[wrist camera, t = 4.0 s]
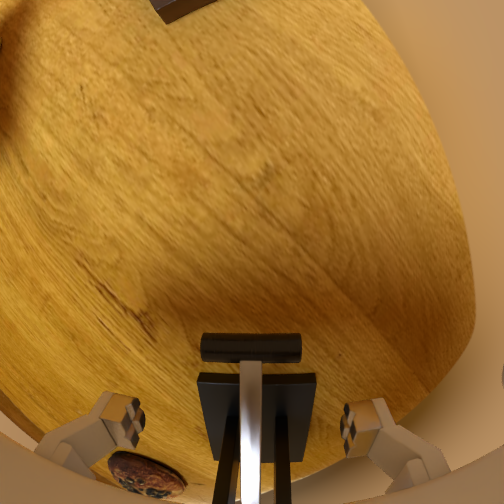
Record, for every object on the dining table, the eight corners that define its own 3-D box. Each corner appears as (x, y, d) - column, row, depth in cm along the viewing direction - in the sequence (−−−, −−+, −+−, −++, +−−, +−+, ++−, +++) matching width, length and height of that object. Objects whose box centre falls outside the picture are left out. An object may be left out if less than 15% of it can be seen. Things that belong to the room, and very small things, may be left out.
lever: (208, 331, 15) (197, 333, 13) (298, 332, 15) (303, 333, 13) (216, 537, 12) (210, 556, 9) (287, 540, 11) (288, 559, 9)
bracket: (199, 372, 21) (151, 529, 7) (314, 373, 20) (342, 538, 7) (215, 452, 24) (195, 562, 11) (301, 453, 23) (308, 565, 10)
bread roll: (122, 442, 25) (113, 475, 20) (202, 472, 28) (199, 504, 23) (100, 460, 28) (93, 486, 23) (166, 486, 31) (163, 511, 26)
